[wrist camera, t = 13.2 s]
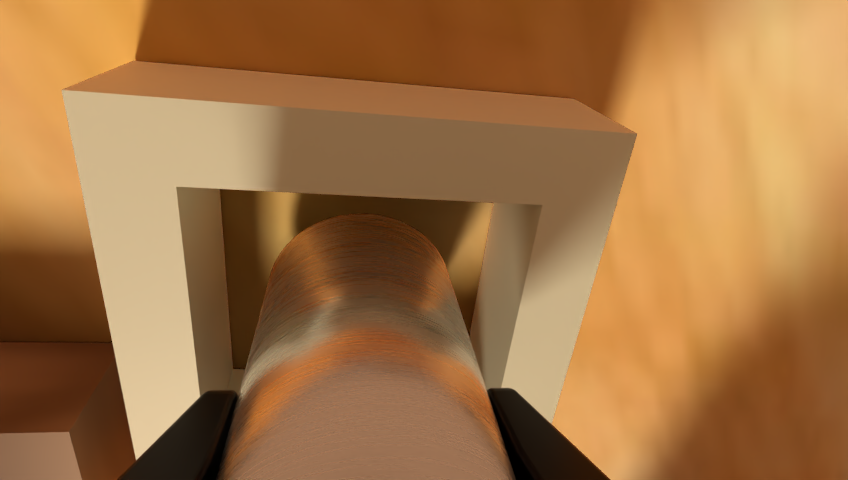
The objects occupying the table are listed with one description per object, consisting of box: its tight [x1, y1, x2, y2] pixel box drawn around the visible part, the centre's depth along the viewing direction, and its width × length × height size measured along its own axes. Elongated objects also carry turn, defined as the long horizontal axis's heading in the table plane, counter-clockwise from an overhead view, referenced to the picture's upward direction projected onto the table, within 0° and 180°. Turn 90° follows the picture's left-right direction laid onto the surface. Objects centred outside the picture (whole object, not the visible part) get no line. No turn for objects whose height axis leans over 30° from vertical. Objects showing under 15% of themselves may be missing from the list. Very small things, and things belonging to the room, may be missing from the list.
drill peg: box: [216, 213, 516, 480], centre depth 7 cm, size 4×4×8 cm
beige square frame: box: [62, 61, 637, 460], centre depth 10 cm, size 8×8×2 cm
